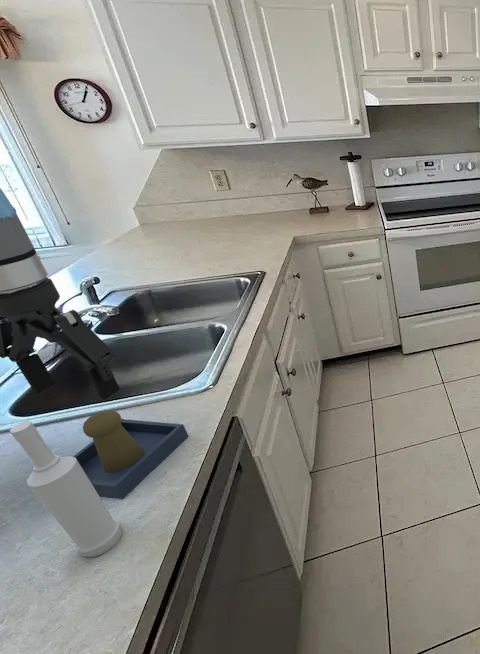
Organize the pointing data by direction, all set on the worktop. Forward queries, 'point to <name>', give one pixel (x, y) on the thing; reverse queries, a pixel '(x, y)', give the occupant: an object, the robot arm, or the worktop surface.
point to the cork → (112, 441)
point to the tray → (156, 448)
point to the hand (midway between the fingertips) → (77, 391)
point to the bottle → (68, 494)
